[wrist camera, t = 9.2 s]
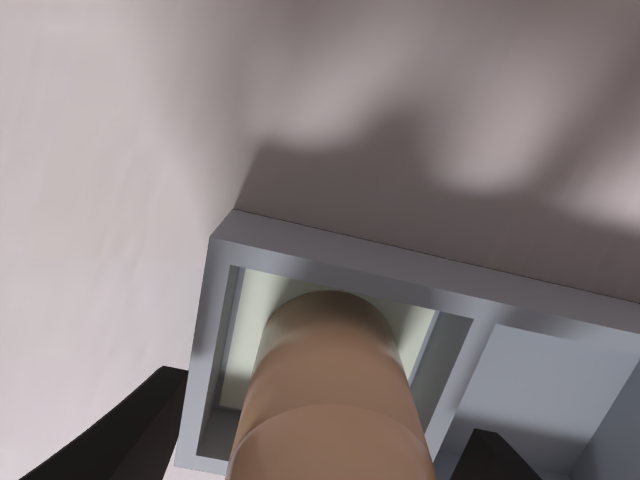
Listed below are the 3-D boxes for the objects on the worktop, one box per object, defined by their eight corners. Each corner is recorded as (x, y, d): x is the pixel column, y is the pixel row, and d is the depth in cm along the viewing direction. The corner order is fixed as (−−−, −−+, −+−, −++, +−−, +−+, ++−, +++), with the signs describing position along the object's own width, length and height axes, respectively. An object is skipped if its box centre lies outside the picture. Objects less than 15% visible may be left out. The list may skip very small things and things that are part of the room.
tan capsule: (412, 306, 12) (519, 549, 6) (374, 415, 14) (423, 711, 7) (273, 277, 12) (212, 496, 5) (249, 391, 13) (178, 677, 7)
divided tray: (668, 310, 13) (748, 359, 10) (566, 475, 15) (613, 545, 13) (232, 209, 12) (209, 236, 9) (198, 404, 14) (173, 466, 12)
